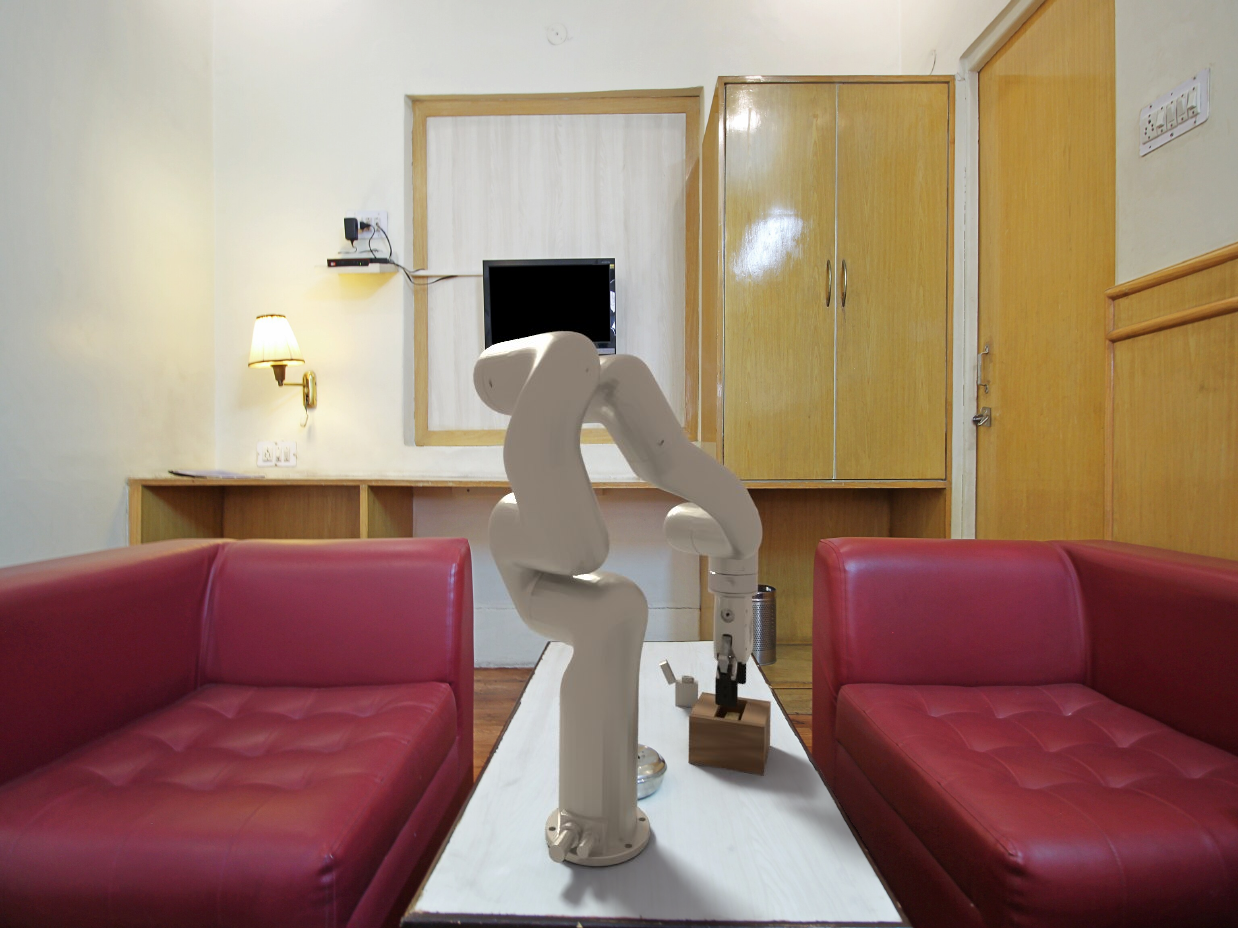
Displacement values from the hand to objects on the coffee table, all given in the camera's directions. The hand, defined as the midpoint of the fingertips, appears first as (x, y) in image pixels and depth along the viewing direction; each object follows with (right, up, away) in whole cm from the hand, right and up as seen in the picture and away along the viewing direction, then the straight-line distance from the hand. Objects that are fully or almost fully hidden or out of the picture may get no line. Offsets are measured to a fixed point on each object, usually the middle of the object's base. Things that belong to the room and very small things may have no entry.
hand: (731, 693), depth 95 cm
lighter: (-6, -9, +19) cm, 22 cm away
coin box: (0, -9, 0) cm, 9 cm away
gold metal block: (0, -9, 0) cm, 9 cm away
